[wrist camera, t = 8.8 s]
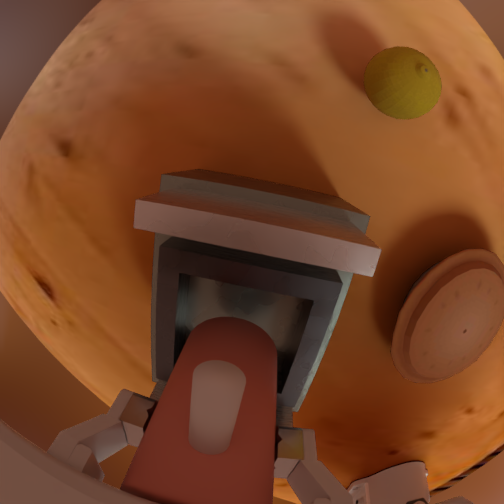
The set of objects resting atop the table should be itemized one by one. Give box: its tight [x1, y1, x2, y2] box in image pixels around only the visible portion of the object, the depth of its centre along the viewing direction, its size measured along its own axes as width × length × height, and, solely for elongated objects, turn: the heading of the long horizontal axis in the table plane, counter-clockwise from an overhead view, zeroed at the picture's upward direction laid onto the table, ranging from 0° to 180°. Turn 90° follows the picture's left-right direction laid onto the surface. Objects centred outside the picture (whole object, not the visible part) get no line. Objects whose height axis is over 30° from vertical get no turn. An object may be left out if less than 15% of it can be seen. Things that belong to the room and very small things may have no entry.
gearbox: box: [134, 169, 382, 427], centre depth 20 cm, size 20×12×13 cm, turn 169°
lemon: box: [364, 47, 442, 119], centre depth 16 cm, size 6×6×8 cm
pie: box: [390, 248, 504, 383], centre depth 23 cm, size 16×16×5 cm
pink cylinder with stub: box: [120, 317, 277, 504], centre depth 9 cm, size 8×5×10 cm, turn 169°
